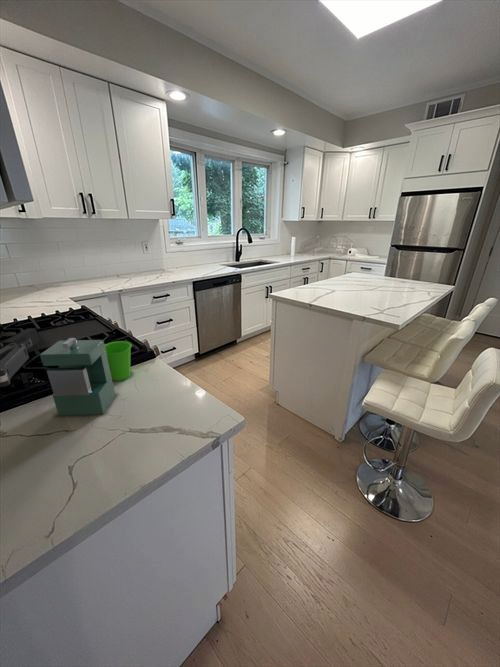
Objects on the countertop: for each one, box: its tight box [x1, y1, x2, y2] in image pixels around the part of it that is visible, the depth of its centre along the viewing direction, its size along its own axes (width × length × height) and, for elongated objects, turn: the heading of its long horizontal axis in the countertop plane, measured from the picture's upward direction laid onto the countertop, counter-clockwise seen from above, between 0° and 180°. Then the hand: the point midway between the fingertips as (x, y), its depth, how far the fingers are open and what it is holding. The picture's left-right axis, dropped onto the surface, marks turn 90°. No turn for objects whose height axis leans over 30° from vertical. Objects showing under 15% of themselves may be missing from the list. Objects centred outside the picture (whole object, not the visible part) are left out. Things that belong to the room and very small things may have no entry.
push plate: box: [46, 367, 92, 396], centre depth 66 cm, size 8×2×7 cm, turn 94°
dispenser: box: [39, 337, 116, 416], centre depth 71 cm, size 11×8×20 cm
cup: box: [104, 340, 133, 382], centre depth 86 cm, size 9×9×11 cm
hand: (33, 334), depth 54 cm, fingers closed
